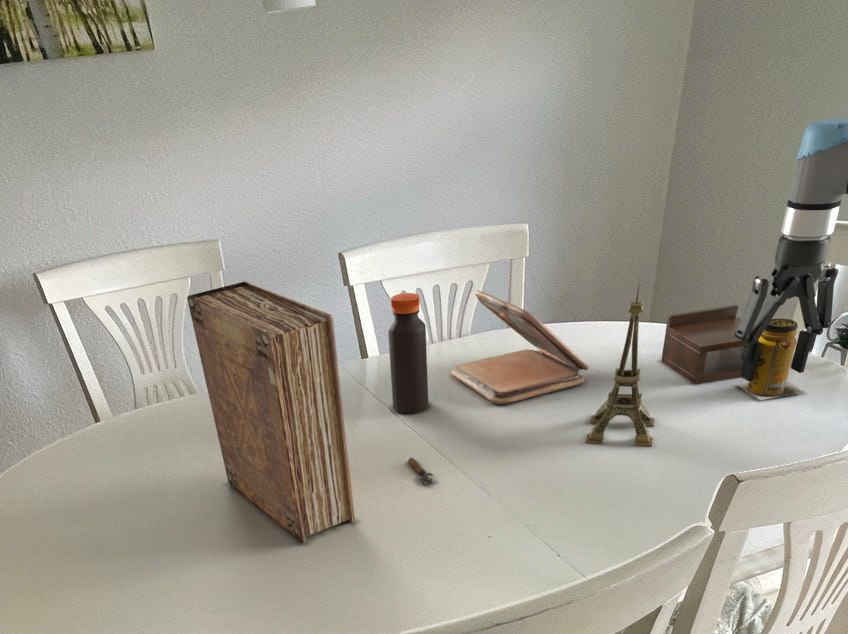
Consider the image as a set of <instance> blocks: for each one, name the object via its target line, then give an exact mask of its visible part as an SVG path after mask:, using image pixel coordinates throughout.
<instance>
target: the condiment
mask: <svg viewBox="0 0 848 634" xmlns="http://www.w3.org/2000/svg"><path fill="white" fill-rule="evenodd" d="M798 328H799V325H798V322H797V321H795V320H793V319H790V318H772V319H771V321H770V322H769V324H768V325H767V327H766V329H765V330H764V332H763V333H762V336H761V337H760V338H759V340H758V342H760V343H761V347H760V351H759V356H758V360H757V364H756V369H755V373H754V378H753V381H748V384H742V385H739V384H738V385H737V386H738V387H739V388H740V389H742V391H744V392H745V393H746V394H747V393H748V394H749V395H751V396H752V397H755V398H757V400H759V401H763V400H771V399H777V398H781V397H782V398H783V397H786V396H793V395H794V396H795V395H797V394H804V393H805V391H804V390H803V391H802V390H801V389H798V388H796V387H795V386H793V385H791V384H790V383H788V381H787V380H788V377H789V373H790V369H791V368H790V367H791V364H792V360H793V356H794V352H795V348H796V344H797V339H796V336H797V329H798Z"/></svg>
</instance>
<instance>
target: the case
mask: <svg viewBox="0 0 848 634" xmlns="http://www.w3.org/2000/svg"><path fill="white" fill-rule="evenodd" d="M474 295H475V297H476V299H477V301H479V303H480V304H481V305H482V306H484V307H485V308H486V309H488V311H490V312H492V313H493V314H494V316H496V317H497V318H498V319H500V320H501V321H502V322H504V324H506V325H507V326H508V327H510V328H511V329H512V330H513V331H514V332H515V333H516V334H518V335H519V336H521V337H522V338H523V339H524V340H525V341H527V342H528V343H529V344H530V345H533V346H534V347H536V348H537V350H534V349H523V350H517V351H513V352H509V353H504V354H500V355H496V356H492V357H491V356H490V357H487V358H483V359H479V360H473V361H470V362H465V363H462V364H461V363H460V364H458V365H456V366H455V367H454V368H452V370H451V375H452V377H454V378H455V379H457V380H458V381H460V382H461V383H463V384H464V385H466V386H467V387H468V388H470V389H472V390H473V391H475V392H476V393H477V394H479V395H480V396H482V397H483V398H484V399H486V400H488V401H489V402H491V403H492V404H496V405H506V404H511V403H515V402H518V401H522V400H528V399H530V398H534V397H538V396H542V395H545V394H549V393H553V392H557V391H561V390H565V389H569V388H572V387H577V386H579V385H582V384H583V383H585V377H584V375H582V374H580V371H588V370H589V369H590V366H589V365H588V363H587V362H586V361H585V360H583V359H582V358H581V356H579V355H578V354H577V353H576V352H575V351H573V350H572V348H570V347H569V346H568V345H567V344H566V343H564V341H562V339H560V338H559V337H558V336H557V335H556V334H555V333H554V332H553V331H551V330H550V328H548V327H547V326H546V325H545V324H543V322H542V321H541V320H539V319H538V318H537V317H536V316H535V315H533V314H532V313H530V312H529V311H528V310H526V309H523V308H522V307H519V306H517V305H515V304H513V303H510V302H507V301H505V300H503V299H500V298H498V297H496V296H494V295H492V294H489V293H486V292H484V291H481V290H475V292H474Z"/></svg>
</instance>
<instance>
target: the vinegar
mask: <svg viewBox="0 0 848 634" xmlns="http://www.w3.org/2000/svg"><path fill="white" fill-rule="evenodd" d="M390 303H391V304H390V305H391V312H392V316H393V319H392V321H391V322H390V323H389V324H388V327H387V336H388V337H387V338H388V340H387V341H388V352H389V353H388V354H389V366H390V368H389V370H390V381H391V382H390V383H391V396H392V397H391V398H392V408H393V409H394V410H395V412H397V413H400V414H405V415H406V414H408V415H409V414H417V413H420V412H423V411H425V410H426V409H428V407H429V382H428V381H429V380H428V379H429V378H428V357H427V355H428V354H427V353H428V352H427V333H426V332H427V331H426V328H427V327H426V324H425V322H424V321H423V320H422V319H421V318H420V317H419V313H420V295H419V294H417V293H413V292H404V293H403V292H402V293H397V294H394V295H393V296H391V298H390Z"/></svg>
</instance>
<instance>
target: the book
mask: <svg viewBox="0 0 848 634" xmlns="http://www.w3.org/2000/svg"><path fill="white" fill-rule="evenodd" d="M186 299H187V305H188V309H189V312H190V317H191V323H192V326H193V331H194V336H195V340H196V344H197V348H198V354H199V357H200V363H201V367H202V371H203V376H204V379H205V385H206V389H207V392H208V398H209V402H210V403H209V404H210V407H211V410H212V416H213V420H214V424H215V429H216V433H217V438H218V442H219V447H220V450H221V456H222V460H223V464H224V470H225V473H226V478H227V482H228V484H229V485H230V486H232V487H233V488H234V489H235V490H236V491H237V492H238V493H240V494H241V495H243V497H245V498H247V500H249V501H250V502H251V503H252V504H253V505H254V506H256V507H257V508H258V509H259V510H260V511H262V512H263V513H264V514H266V516H268V517H269V518H270V519H271V520H273V521H274V522H275V523H277V524H278V525H279V526H280V527H281V528H283V529H284V530H285V531H286V532H287V533H289V534H290V535H291V536H292V537H293V538H295V540H297V541H298V542H300V543H301V544H302V545H304V544H306V542H307V540H306V538H307V537H308V538H309V537H310V536H313V535H315V534H317V533H320V532H323V531H324V530H328V529H330V528H332V527H334V526H337V525H340V524H343V523H344V522H347V521H348V522H350V523H354V522H355V521H356V519H355V518H356V517H355V510H354V499H353V491H352V481H351V471H350V464H349V463H350V462H349V453H348V445H347V436H346V435H347V434H346V426H345V417H344V409H343V399H342V398H343V397H342V390H341V389H342V388H341V380H340V379H341V378H340V372H339V361H338V353H337V352H338V351H337V344H336V333H335V326H334V325H335V324H334V318H333V315H332V314H331V313H328V312H326V311H323V310H320V309H318V308H316V307H315V308H314V307H312V306H310V305H308V304H304V303H302V302H300V301H297V300H294V299H292V298H289V297H287V296H284V295H281V294H279V293H276V292H273V291H271V290H269V289H267V288H266V289H265V288H264V287H261V286H258V285H255V284H253V283H250V282H248V281H242V282H237V283H233V284H229V285H225V286H222V287H218V288H213V289H210V290H206V291H202V292H197V293H194V294H190V295H188V296H187V297H186Z"/></svg>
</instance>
